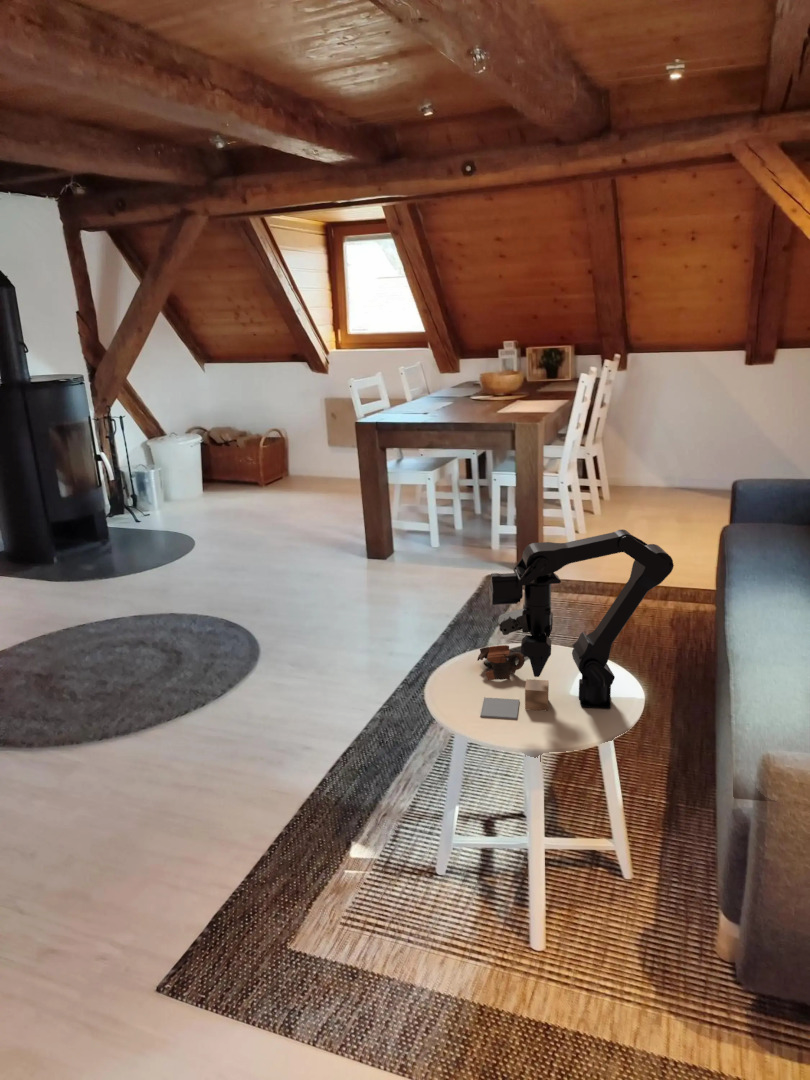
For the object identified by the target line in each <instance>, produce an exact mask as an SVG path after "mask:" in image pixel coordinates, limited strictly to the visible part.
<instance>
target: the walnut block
mask: <svg viewBox="0 0 810 1080" xmlns="http://www.w3.org/2000/svg"><path fill="white" fill-rule="evenodd" d="M549 681H550V680H546V679H528V678H526V679H525V687H524V710H525V709H530V710H529V711H541V710H546V711H545V712H548V710H549V691H550V690H549V686H550V685H549V683H550V682H549Z"/></svg>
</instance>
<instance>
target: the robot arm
mask: <svg viewBox="0 0 810 1080" xmlns="http://www.w3.org/2000/svg"><path fill="white" fill-rule="evenodd" d="M619 553H624V554H626V555H627V556H629V557H631V558H632V559H633V563H632V566H631V567H632V568H631V571H630V576H629V579H628V581H627V582H626V583H625V584H624V587H622V589H621V591H620V592H619V594H618V595H617V597H616V598H615V600H614V601H613V602H612V604H611V605H610V607H609V608H608V609H607V611H606V613H605V614H604V615H603V617H602V618H601V619H600V620H601V621H599V623H598V625H597V626H596V628H595V629H594V630H593V631H591V632H590V633H588V634H586V633H585V632H584V631H582V632H581V633H580V634H579V637H578V639H577V641H576V642H574V643H573V644H572V648H573V649H572V650H571V655H572V660H573V662H574V663H575V665H576V667H577V670H578V671H579V673H580V674H581V678H580V679H579V680H578V700H579V701H580V707H582V708H592V709H593V708H595V709H607V710H608V709H609V710H610V709H612V703H611V702H612V700H611V696H612V695H611V693H612V692H611V691H612V685H613V684H614V683H613V682H614V680H615V677H616V676H615V675H614V673H613V671H612V670H611V668H610V667H609V664H608V661H609V659H610V655H611V650H612V646H613V643H614V642H615V640H616V639H617V638H618V636H619V634H620V633H621V631H623V628H624V627H625V626H626V624H627V623H628V621H629V620H630V619H631V617H632V616H633V614H634V613H635V611H636V609H637V608H638V607H639V605H641V602H642V601H643V599H644V598H645V596H646V595H647V593H648V592H649V591H650V590H652V589H654V588H655V587H658V586H659V585H660V584H662V583H663V581H665V580H666V579H667V578H668V576H669V575H670V574H671V573H672V572H673V569H674V566H675V565H674V561H673V558H672V557H671V555H669V554H668V552H666V551H665V550H664V549H663V548H662V547H661V546H659V545H658V544H656V543H655V544H654V543H650V544H648V543H647V542H645V541H643V540H641V539H640V538H638V537H636V536H634V535H633V534H631V533H630V532H629V531H627V530H625V529H617V530H616V531H613V532H609V533H604V534H598V535H595V536H591V537H585V538H580V539H576V540H571V541H568V542H567V541H566V542H550V541H543V542H542V541H541V542H532V543H530V544H528V545H527V546H525V549H523V552H522V555H521V556H522V557H521V559H520V560H519V561H518V562H517V563H516V565H515V566H514V568H513V572H511V573H509V572H507V573H497V572H494V573H491V574H490V580H489V584H488V592H489V593H488V594H489V596H488V597H489V601H490V605H491V606H499V605H500V606H502V605H517V604H518V603H521V600H522V599H524V602H523V605H522V606H523V607H522V608H519V609H515V610H512V611H508V612H505V613H501V614H500V615H499V617H498V620H497V623H498V626H499V629H498V630H499V631H500V632H502V633H501V634H502V635H503V636H507V635H509V634H511V633H514V632H518V631H521V630H522V631H521V633H522V634H523V633H525V634H527V635H525V636H524V637H523V638H522V639H521V643H520V653H521V654H523V656H525V657H527V658H529V659H528V660H529V662H530V665H531V669H532V672H533V677H535V678H539V677H540V676H541V674H542V672H543V670H544V668H545V666H546V664H547V662H548V660H549V658H550V656H551V655H552V640H551V638H550V636H551V634H552V631H553V626H554V625H553V624H554V623H553V622H554V614H553V612H552V585H553V584H554V585H555V584H556V585H559V584H561V583H562V580H561V579H560V577H559V575H557V574H556V572H558V571H559V570H561V569H562V568H564V567H566V566H567V565H569V564H570V565H571V564H574V563H579V562H584V561H586V560H592V559H596V558H597V559H598V558H601V557H607V556H610V555H615V554H619ZM523 586H524V587H523ZM523 588H524V593H523ZM523 597H524V598H523ZM528 633H529V634H530V635H529V634H528Z"/></svg>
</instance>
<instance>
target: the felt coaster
mask: <svg viewBox="0 0 810 1080" xmlns="http://www.w3.org/2000/svg"><path fill="white" fill-rule="evenodd" d="M519 706H520V699H515V698H502V697H501V698H498V697H485V696H484V697H483V701H482V706H481V709H480V710H481V711H480V718H492V719H493V718H494V719H504V720H507V719H508V720H518V716H519V715H518V714H519V708H520V707H519Z"/></svg>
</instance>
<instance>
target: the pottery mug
mask: <svg viewBox="0 0 810 1080" xmlns="http://www.w3.org/2000/svg"><path fill="white" fill-rule="evenodd" d="M479 652H480V653H479V654H478V657H477V659H476V661H478V662H479V661H483V660H484V659H485V660H487V661H488V662H489V663H490V665H491V667H492V669H491V670H486V671H485V675H486V679H487V681H494V680H495V681H496V680H499V681H500V680H510V679H511V674H515V673H516V671H517V670H520V669H522V668H523V666H524V665H525V661H526V659H525V657H524V655H523V654H521V651H519V652H518V651H511V650H510V645H508V644H502V645H501V644H500V645H492V646H485V647H481V648H479ZM507 658H508V659H507ZM517 658H518V662H517V663H516V661H517Z"/></svg>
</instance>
